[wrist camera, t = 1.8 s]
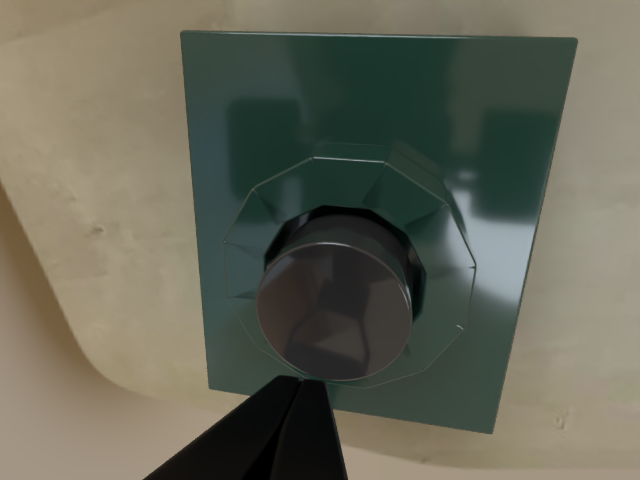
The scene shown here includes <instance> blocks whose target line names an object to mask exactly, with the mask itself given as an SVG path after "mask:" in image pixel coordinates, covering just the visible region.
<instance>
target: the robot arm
mask: <svg viewBox="0 0 640 480" xmlns="http://www.w3.org/2000/svg"><path fill="white" fill-rule="evenodd" d="M143 480H348V477H347V472H346V468H345V463H344V458H343V454H342V450H341V445H340V440H339V436H338V431H337V427H336V422H335V418H334V413H333V409H332V404H331V400H330V395H329V391H328V386H327V384H326V382H325V381H321V380H314V379H304V380H303V381H302V380H301V378H299V377H294V376H287V375H278V376H276V377H275V378H274V379H272V380H271V381H270V382H269V383H267V384H266V385H265V386H263V387H262V388H261V389H259V390H258V391H257V392H256V393H254V394H253V395H252V396H250V397H249V398H248V399H246V400H245V401H244V402H243V403H241V404H240V405H239V406H237V407H236V408H235V409H234V410H232V411H231V412H230V413H228V414H227V415H226V416H224V417H223V418H222V419H221V420H219V421H218V422H217V423H215V424H214V425H213V426H212V427H210V428H209V429H208V430H206V431H205V432H204V433H202V434H201V435H200V436H199V437H197V438H196V439H195V440H193V441H192V442H191V443H190V444H188V445H187V446H186V447H184V448H183V449H182V450H181V451H179V452H178V453H177V454H175V455H174V456H173V457H172V458H170V459H169V460H168V461H166V462H165V463H164V464H162V465H161V466H160V467H158V468H157V469H156V470H155V471H153V472H152V473H151V474H149V475H148V476H147V477H146V478H144V479H143Z"/></svg>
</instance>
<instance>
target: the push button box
mask: <svg viewBox="0 0 640 480" xmlns="http://www.w3.org/2000/svg"><path fill="white" fill-rule="evenodd" d="M180 37H181V50H182V62H183V75H184V87H185V99H186V112H187V124H188V137H189V149H190V161H191V174H192V186H193V199H194V211H195V223H196V236H197V248H198V261H199V273H200V285H201V298H202V310H203V323H204V335H205V347H206V360H207V372H208V385H209V389H211V390H218V391H224V392H230V393H236V394H243V395H249V396H252V395H253V394H254V393H256V392H257V391H258V390H259V389H261V388H262V387H263V386H265V385H266V384H267V383H269V382H270V381H271V380H272V379H274V378H275V377H276V376H278V375H287V376H294V377H299V378H301V380H302V381H303V380H304V379H314V380H321V381H325V382H326V384H327V386H328V391H329V395H330V400H331V404H332V409H336V410H342V411H349V412H355V413H361V414H367V415H373V416H380V417H386V418H392V419H398V420H405V421H411V422H417V423H423V424H430V425H436V426H442V427H448V428H455V429H461V430H467V431H473V432H479V433H486V434H492V433H493V430H494V426H495V421H496V417H497V412H498V408H499V403H500V398H501V394H502V389H503V385H504V380H505V375H506V371H507V366H508V362H509V357H510V352H511V348H512V343H513V339H514V334H515V329H516V325H517V320H518V316H519V311H520V306H521V302H522V297H523V293H524V288H525V283H526V279H527V274H528V270H529V265H530V260H531V256H532V251H533V247H534V242H535V237H536V233H537V228H538V224H539V219H540V214H541V210H542V205H543V201H544V196H545V191H546V187H547V182H548V178H549V173H550V169H551V164H552V159H553V155H554V150H555V146H556V141H557V136H558V132H559V127H560V123H561V118H562V113H563V109H564V104H565V100H566V95H567V90H568V86H569V81H570V77H571V72H572V67H573V63H574V58H575V54H576V49H577V44H578V39H577V38H575V37H523V36H469V35H415V34H362V33H308V32H255V31H201V30H183V31H181V33H180ZM329 214H352V215H357V216H361V217H365V218H367V219H370V220H372V221H374V222H376V223H378V224H380V225H381V226H383V227H384V228H386V229H387V230H388V231H390V232H391V233H392V234H393V235H394V236H395V237H396V238H397V239H398V241H399V242H400V243H401V245H402V246H403V248H404V249H405V251H406V253H407V255H408V257H409V260H410V263H411V267H412V272H413V318H412V328H411V333H410V336H409V339H408V342H407V344H406V346H405V347H404V349H403V351H402V352H401V353H400V355H399V356H398V357H397V358H396V359H395V360H394V361H393V362H392V363H391V364H390V365H389V366H387V367H386V368H384V369H383V370H381V371H379V372H378V373H376V374H374V375H371V376H368V377H365V378H361V379H357V380H350V381H334V380H326V379H322V378H318V377H314V376H311V375H309V374H306V373H304V372H302V371H300V370H298V369H296V368H295V367H293V366H291V365H290V364H289V363H287V362H286V361H285V360H283V359H282V358H281V357H280V356H279V355H278V354H277V353H276V352H275V351H274V350H273V348H272V347H271V346H270V344H269V343H268V342H267V340H266V338H265V336H264V335H263V333H262V330H261V328H260V325H259V322H258V318H257V312H256V295H257V290H258V286H259V283H260V280H261V278H262V276H263V275H264V273H265V271H266V270H267V268H268V267H269V265H270V264H271V263H272V261H273V260H274V258H275V257H276V256H277V254H278V253H279V251H280V250H281V249H282V247H283V246H284V244H285V243H286V242H287V240H288V239H289V238H290V236H291V235H292V234H293V233H294V232H295V231H296V230H297V229H298V228H299V227H301V226H302V225H303V224H305V223H307V222H309V221H310V220H312V219H315V218H318V217H320V216H325V215H329Z"/></svg>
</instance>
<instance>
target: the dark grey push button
mask: <svg viewBox="0 0 640 480" xmlns="http://www.w3.org/2000/svg"><path fill="white" fill-rule="evenodd" d="M256 312H257V318H258V322H259V325H260V328H261V330H262V333H263V335H264V336H265V338H266V340H267V342H268V343H269V344H270V346H271V347H272V348H273V350H274V351H275V352H276V353H277V354H278V355H279V356H280V357H281V358H282V359H283V360H285V361H286V362H287V363H289V364H290V365H291V366H293V367H295V368H296V369H298V370H300V371H302V372H304V373H306V374H309V375H311V376H314V377H318V378H322V379H326V380H334V381H350V380H357V379H361V378H365V377H368V376H371V375H374V374H376V373H378V372H379V371H381V370H383V369H384V368H386V367H387V366H389V365H390V364H391V363H392V362H393V361H394V360H395V359H396V358H397V357H398V356H399V355H400V353H401V352H402V351H403V349H404V347H405V346H406V344H407V342H408V339H409V336H410V333H411V328H412V318H413V272H412V267H411V263H410V260H409V257H408V255H407V253H406V251H405V249H404V248H403V246H402V245H401V243H400V242H399V241H398V239H397V238H396V237H395V236H394V235H393V234H392V233H391V232H390V231H388V230H387V229H386V228H384V227H383V226H381V225H380V224H378V223H376V222H374V221H372V220H370V219H367V218H365V217H361V216H357V215H352V214H329V215H325V216H320V217H318V218H315V219H312V220H310V221H309V222H307V223H305V224H303V225H302V226H301V227H299V228H298V229H297V230H296V231H295V232H294V233H293V234H292V235H291V236H290V238H289V239H288V240H287V242H286V243H285V244H284V246H283V247H282V249H281V250H280V251H279V253H278V254H277V256H276V257H275V258H274V260H273V261H272V263H271V264H270V265H269V267H268V268H267V270H266V271H265V273H264V275H263V276H262V278H261V280H260V283H259V286H258V290H257V295H256Z"/></svg>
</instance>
